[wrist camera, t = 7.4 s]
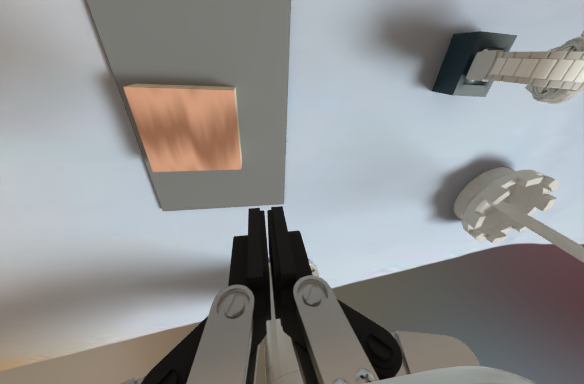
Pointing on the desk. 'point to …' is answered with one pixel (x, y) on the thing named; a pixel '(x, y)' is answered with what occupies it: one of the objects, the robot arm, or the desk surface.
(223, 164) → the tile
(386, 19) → the desk surface
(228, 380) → the robot arm
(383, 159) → the desk surface
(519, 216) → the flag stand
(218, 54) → the mat
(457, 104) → the desk surface
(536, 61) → the watch
